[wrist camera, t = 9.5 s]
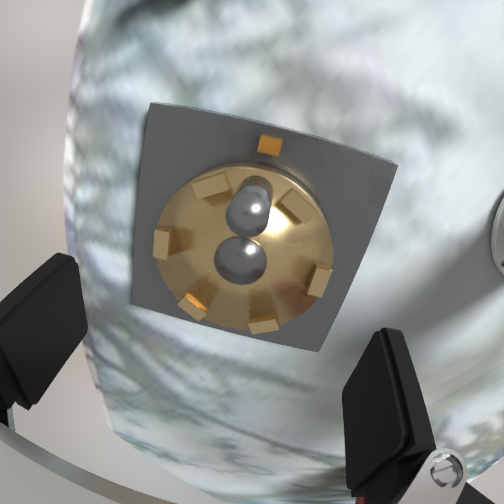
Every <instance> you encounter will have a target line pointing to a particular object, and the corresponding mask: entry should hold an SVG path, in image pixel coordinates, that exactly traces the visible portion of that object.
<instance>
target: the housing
mask: <svg viewBox="0 0 504 504" xmlns="http://www.w3.org/2000/svg"><path fill="white" fill-rule="evenodd" d="M236 162H251V163H258V164H263V165H267V166H270V167H273V168H276V169H278V170H281V171H283V172H285V173H287V174H288V175H290V176H292V177H293V178H295V179H296V180H298V181H299V182H300V183H301V184H302V185H303V186H305V187H306V188H307V189H308V191H309V192H310V193H311V194H312V195H313V196H314V198H315V199H316V201H317V202H318V204H319V205H320V207H321V209H322V211H323V213H324V215H325V218H326V221H327V225H328V228H329V232H330V235H331V240H332V246H333V264H332V273H331V276H330V278H329V281H328V283H327V286H326V288H325V291H324V293H323V296H322V297H319V298H318V299H317V301H316V302H315V303H314V304H313V305H312V306H311V307H310V308H309V309H308V310H307V311H305V312H304V313H303V314H301V315H300V316H298V317H297V318H295V319H293V320H291V321H289V322H287V323H285V324H282V325H280V329H279V330H275V331H270V332H264V333H259V334H253V335H252V333H251V330H239V329H232V328H227V327H223V326H220V325H216V324H214V323H211V322H209V321H207V320H205V319H203V318H202V319H201V320H200V321H197V320H196V319H195V318H193V317H192V316H191V315H190V314H188V313H187V312H186V311H184V310H183V309H182V308H180V307H179V306H178V305H177V303H178V301H179V300H178V299H177V298H176V297H175V296H174V295H173V294H172V292H171V291H170V290H169V288H168V287H167V285H166V283H165V282H164V280H163V278H162V276H161V273H160V271H159V268H158V265H157V261H156V257H153V247H154V233H155V229H156V228H157V224H158V221H159V218H160V216H161V214H162V212H163V210H164V208H165V207H166V205H167V204H168V202H169V201H170V199H171V198H172V197H173V196H174V195H175V194H176V193H177V192H178V191H179V190H180V189H181V188H182V187H183V186H185V185H186V184H187V183H188V182H189V181H190V180H192V179H193V178H194V177H196V176H197V175H199V174H200V173H202V172H204V171H206V170H208V169H211V168H213V167H216V166H219V165H223V164H227V163H236ZM397 167H398V165H397V164H395V163H394V162H392V161H390V160H387V159H384V158H382V157H379V156H376V155H373V154H370V153H368V152H365V151H362V150H359V149H356V148H353V147H350V146H347V145H344V144H340V143H337V142H334V141H331V140H328V139H324V138H321V137H318V136H314V135H311V134H307V133H304V132H300V131H296V130H293V129H289V128H285V127H281V126H277V125H274V124H269V123H265V122H261V121H257V120H253V119H248V118H244V117H239V116H235V115H230V114H225V113H220V112H215V111H209V110H204V109H198V108H193V107H187V106H181V105H174V104H167V103H160V102H154V103H150V107H149V113H148V119H147V125H146V132H145V138H144V145H143V153H142V160H141V169H140V177H139V187H138V197H137V208H136V221H135V236H134V255H133V286H132V304H134V305H137V306H140V307H143V308H147V309H150V310H153V311H156V312H160V313H163V314H166V315H170V316H173V317H176V318H180V319H183V320H187V321H190V322H194V323H198V324H201V325H205V326H209V327H212V328H216V329H220V330H224V331H228V332H231V333H235V334H239V335H243V336H248V337H252V338H256V339H260V340H264V341H269V342H273V343H277V344H282V345H286V346H291V347H296V348H300V349H305V350H310V351H315V352H319V350H320V348H321V346H322V344H323V342H324V340H325V338H326V336H327V334H328V332H329V330H330V328H331V326H332V324H333V322H334V320H335V318H336V316H337V314H338V312H339V310H340V308H341V305H342V303H343V301H344V299H345V297H346V295H347V293H348V290H349V288H350V286H351V284H352V282H353V279H354V277H355V275H356V272H357V270H358V268H359V266H360V263H361V261H362V259H363V256H364V254H365V252H366V249H367V247H368V244H369V242H370V239H371V237H372V234H373V232H374V229H375V227H376V224H377V222H378V219H379V217H380V214H381V212H382V209H383V206H384V204H385V201H386V198H387V195H388V193H389V190H390V187H391V184H392V182H393V179H394V176H395V173H396V170H397Z"/></svg>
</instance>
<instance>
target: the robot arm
mask: <svg viewBox="0 0 504 504" xmlns="http://www.w3.org/2000/svg"><path fill="white" fill-rule="evenodd" d="M491 251H492V256H493V260H494V263H495V264H496V266H497V268H498V269H499V271H500V272H501V273H502V274H503V275H504V197H503V199H502V200H501V203H500V205H499V207H498V210H497V212H496V215H495V219H494V222H493V227H492V233H491ZM87 329H88V324H87V319H86V313H85V307H84V301H83V295H82V288H81V281H80V274H79V266H78V264H77V263H76V262H75V259H74V257H72V256H69V255H66V254H62V253H56V254H55V255H53V256H52V257H51V258H50V259H49V260H47V261H46V262H45V263H44V264H43V265H42V266H40V267H39V268H38V269H37V270H35V271H34V272H33V273H32V274H31V275H30V276H29V277H28V278H26V279H25V280H24V281H23V282H22V283H21V284H19V285H18V286H17V287H16V288H15V289H14V290H13V291H12V292H11V293H10V294H8V295H7V296H6V297H5V298H4V299H3V300H2V301H1V302H0V504H176V503H172V502H169V501H166V500H163V499H159V498H156V497H153V496H150V495H147V494H144V493H141V492H138V491H135V490H132V489H129V488H127V487H124V486H121V485H119V484H116V483H114V482H111V481H109V480H106V479H104V478H102V477H99V476H97V475H95V474H92V473H90V472H88V471H86V470H84V469H81V468H79V467H77V466H75V465H73V464H71V463H69V462H67V461H65V460H63V459H61V458H59V457H57V456H55V455H54V454H51V453H50V452H48V451H46V450H44V449H43V448H41V447H39V446H37V445H36V444H34V443H32V442H30V441H29V440H27V439H26V438H24V437H22V436H21V435H19V434H17V433H16V432H15V426H14V418H13V409H12V405H13V404H14V402H15V401H16V403H17V404H18V405H20V406H22V407H23V408H25V409H27V410H29V409H30V408H31V406H32V405H33V404H37V403H38V402H39V400H40V399H41V397H42V396H43V394H44V393H45V391H46V390H47V388H48V387H49V385H50V384H51V382H52V381H53V380H54V378H55V377H56V375H57V374H58V372H59V371H60V370H61V368H62V367H63V365H64V364H65V362H66V361H67V360H68V358H69V357H70V355H71V354H72V353H73V351H74V350H75V349H76V347H77V346H78V345H79V343H80V342H81V340H82V339H83V338H84V336H85V335H86V333H87ZM342 406H343V420H344V436H345V455H346V483H347V488H348V489H351V494H352V497H365V504H495V503H493V502H492V501H491V500H489V499H488V498H487V497H485V496H484V495H483V494H481V493H480V492H479V491H477V490H476V489H475V488H473V487H472V486H471V485H469V484H468V483H467V482H466V480H467V466H466V463H465V461H464V460H463V458H462V457H461V456H460V455H459V454H458V453H457V452H455V451H453V450H451V449H448V448H440V449H437V450H436V445H435V441H434V437H433V433H432V429H431V425H430V421H429V417H428V413H427V410H426V406H425V403H424V399H423V395H422V392H421V389H420V385H419V382H418V379H417V376H416V373H415V369H414V366H413V363H412V360H411V357H410V354H409V351H408V348H407V345H406V342H405V339H404V336H403V333H402V332H401V331H400V330H396V329H390V328H382V329H381V330H380V331H376V332H375V333H374V334H373V336H372V338H371V340H370V342H369V344H368V346H367V348H366V349H365V351H364V353H363V355H362V357H361V359H360V360H359V362H358V364H357V366H356V368H355V369H354V371H353V373H352V375H351V376H350V378H349V380H348V381H347V383H346V385H345V386H344V389H343V392H342Z"/></svg>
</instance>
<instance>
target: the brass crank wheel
mask: <svg viewBox="0 0 504 504" xmlns="http://www.w3.org/2000/svg"><path fill="white" fill-rule="evenodd" d="M153 257H156V261H157V265H158V268H159V271H160V273H161V276H162V278H163V280H164V282H165V283H166V285H167V287H168V288H169V290H170V291H171V292H172V294H173V295H174V296H175V297H176V298H177V299H178V300H179V301H178V303H177V305H178V306H179V307H180V308H182V309H183V310H184V311H186V312H187V313H188V314H190V315H191V316H192V317H193V318H195V319H196V320H197V321H200V320H201V319H202V318H203V319H205V320H207V321H209V322H211V323H214V324H216V325H220V326H223V327H227V328H232V329H239V330H251V333H252V335H253V334H259V333H264V332H270V331H275V330H279V329H280V325H282V324H285V323H287V322H289V321H291V320H293V319H295V318H297V317H298V316H300V315H301V314H303V313H304V312H305V311H307V310H308V309H309V308H310V307H311V306H312V305H313V304H314V303H315V302H316V301H317V299H318V298H319V297H322V296H323V293H324V291H325V288H326V286H327V283H328V281H329V278H330V276H331V273H332V264H333V246H332V240H331V235H330V232H329V228H328V225H327V221H326V218H325V215H324V213H323V211H322V209H321V207H320V205H319V204H318V202H317V201H316V199H315V198H314V196H313V195H312V194H311V193H310V192H309V191H308V189H307V188H306V187H305V186H303V185H302V184H301V183H300V182H299V181H298V180H296V179H295V178H293V177H292V176H290V175H288V174H287V173H285V172H283V171H281V170H278V169H276V168H273V167H270V166H267V165H263V164H258V163H251V162H236V163H227V164H223V165H219V166H216V167H213V168H211V169H208V170H206V171H204V172H202V173H200V174H199V175H197V176H196V177H194V178H193V179H192V180H190V181H189V182H188V183H187V184H186V185H185V186H183V187H182V188H181V189H180V190H179V191H178V192H177V193H176V194H175V195H174V196H173V197H172V198H171V199H170V201H169V202H168V204H167V205H166V207H165V208H164V210H163V212H162V214H161V216H160V218H159V221H158V224H157V228H156V229H155V233H154V247H153Z"/></svg>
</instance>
